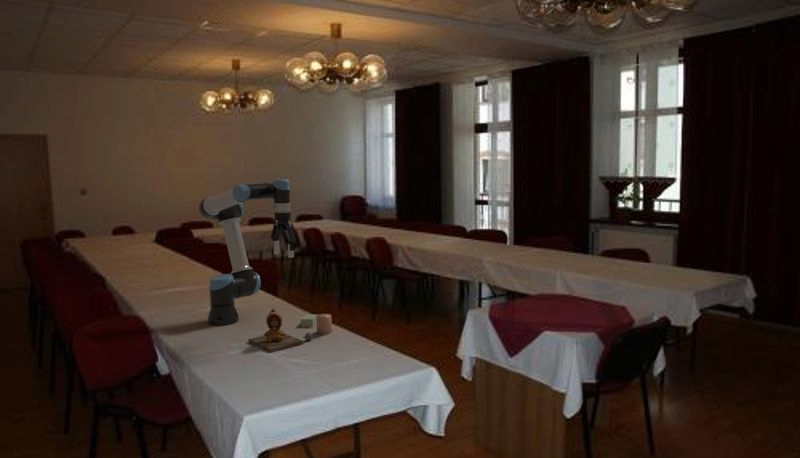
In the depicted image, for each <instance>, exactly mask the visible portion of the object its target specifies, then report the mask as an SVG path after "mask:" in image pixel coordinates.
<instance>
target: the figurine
mask: <svg viewBox="0 0 800 458" xmlns="http://www.w3.org/2000/svg"><path fill="white" fill-rule="evenodd" d="M282 324H283V318H282V315H281V314H280V313H279V312H278V311H276V309H275V308H272V309H271V310H270V312H269V313H268V315H267V316H266V325H267V328H268V329H269V330H267V331H266V332H264V334H263V335H264V336H267V342H268V343H272V342H282V340H283V336H285V335H286V333H285V332H284V331H283V330H282V329H281V327H282Z"/></svg>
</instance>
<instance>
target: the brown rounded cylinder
mask: <svg viewBox="0 0 800 458" xmlns="http://www.w3.org/2000/svg"><path fill="white" fill-rule="evenodd" d="M316 315H317V316H316V320H317V323H316V334H317V335H322V336H323V335H324V336H325V335H329V334H331V333H332V332H333V329H332V327H333V325H332V322H333V321H332V315H331V314H329V313H321V314H316Z"/></svg>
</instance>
